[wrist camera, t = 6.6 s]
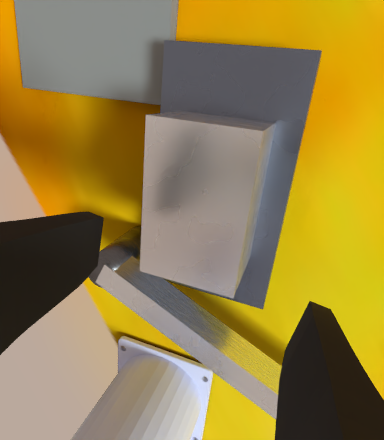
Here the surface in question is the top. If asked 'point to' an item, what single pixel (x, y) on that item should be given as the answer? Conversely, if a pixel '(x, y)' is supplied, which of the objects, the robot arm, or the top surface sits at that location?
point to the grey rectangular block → (202, 197)
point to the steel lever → (187, 322)
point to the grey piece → (253, 110)
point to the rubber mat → (96, 46)
